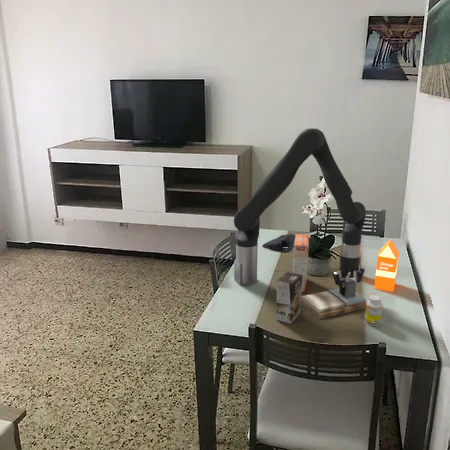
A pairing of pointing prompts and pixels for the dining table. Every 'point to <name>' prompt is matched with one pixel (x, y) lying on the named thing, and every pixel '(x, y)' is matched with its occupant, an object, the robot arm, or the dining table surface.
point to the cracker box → (301, 257)
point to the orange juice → (386, 267)
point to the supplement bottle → (373, 311)
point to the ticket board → (328, 304)
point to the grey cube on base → (349, 293)
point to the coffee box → (288, 297)
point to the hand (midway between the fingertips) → (347, 293)
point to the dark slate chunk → (281, 243)
